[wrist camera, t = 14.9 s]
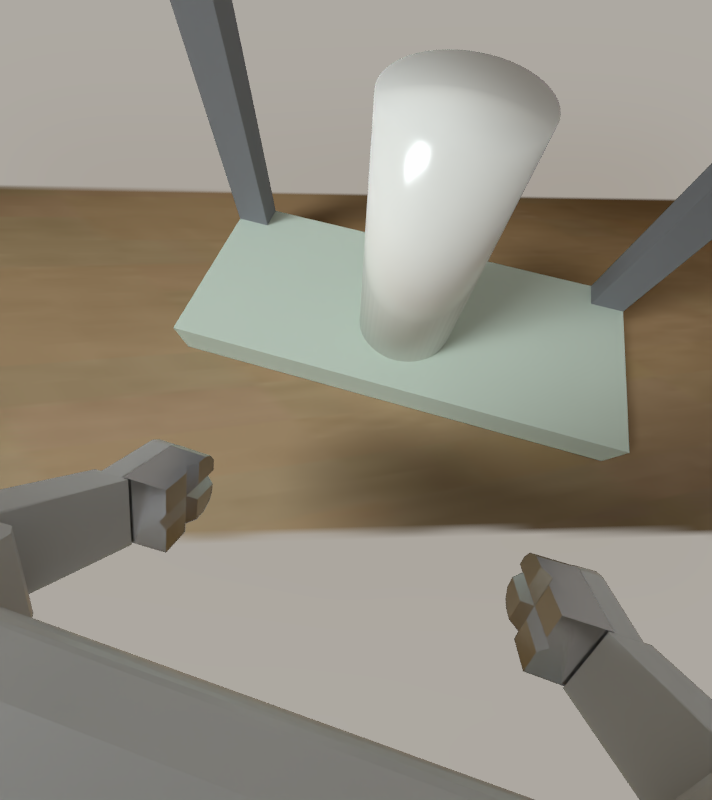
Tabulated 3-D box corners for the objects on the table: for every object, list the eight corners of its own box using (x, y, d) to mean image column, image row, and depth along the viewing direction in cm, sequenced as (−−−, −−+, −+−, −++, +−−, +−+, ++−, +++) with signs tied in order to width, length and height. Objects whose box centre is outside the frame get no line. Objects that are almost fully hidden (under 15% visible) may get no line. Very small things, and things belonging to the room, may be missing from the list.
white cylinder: (348, 347, 19) (351, 130, 9) (372, 277, 21) (397, 37, 11) (441, 372, 19) (556, 172, 8) (456, 298, 21) (563, 67, 11)
